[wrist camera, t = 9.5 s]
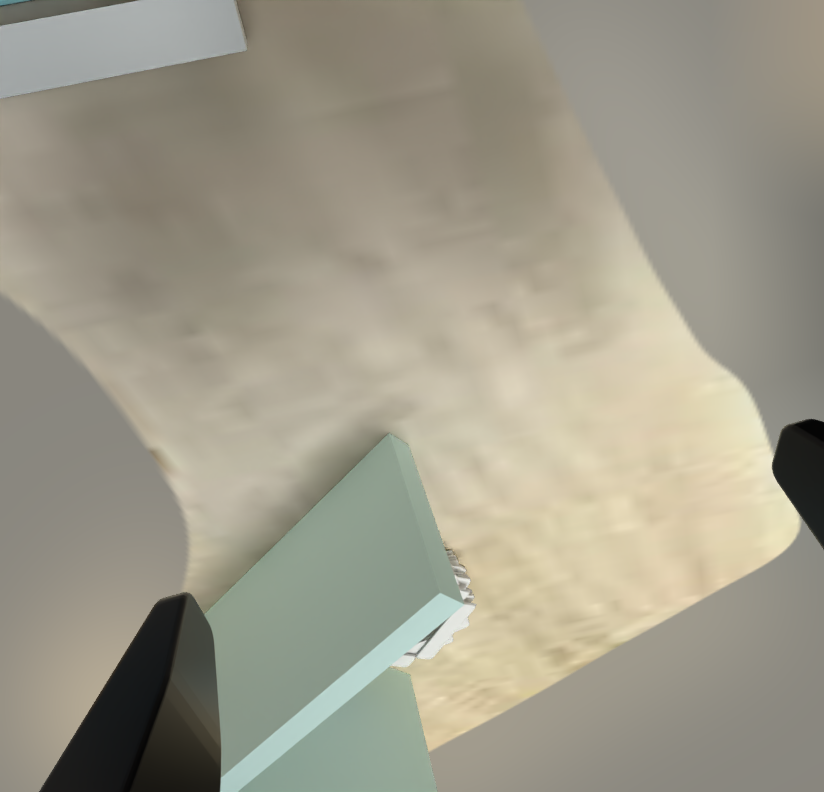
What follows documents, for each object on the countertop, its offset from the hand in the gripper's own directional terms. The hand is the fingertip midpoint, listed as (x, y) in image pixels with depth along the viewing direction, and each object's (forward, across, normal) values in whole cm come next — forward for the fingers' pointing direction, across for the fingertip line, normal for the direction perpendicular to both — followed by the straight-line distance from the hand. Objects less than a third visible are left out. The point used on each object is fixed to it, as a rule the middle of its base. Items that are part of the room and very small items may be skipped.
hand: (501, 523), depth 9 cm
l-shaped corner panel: (+12, +2, +16) cm, 20 cm away
